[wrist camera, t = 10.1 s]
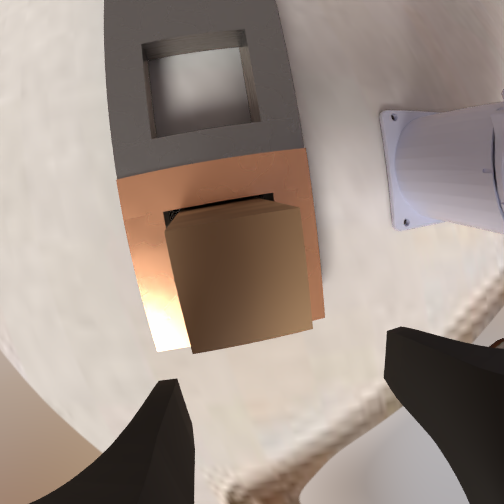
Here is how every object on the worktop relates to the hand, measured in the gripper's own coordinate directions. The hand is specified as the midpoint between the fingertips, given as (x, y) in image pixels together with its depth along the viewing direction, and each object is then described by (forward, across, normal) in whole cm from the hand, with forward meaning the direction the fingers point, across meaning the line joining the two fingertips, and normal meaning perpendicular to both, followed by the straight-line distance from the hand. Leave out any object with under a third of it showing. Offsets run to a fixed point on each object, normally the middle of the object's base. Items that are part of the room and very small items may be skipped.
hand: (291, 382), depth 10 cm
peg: (+10, +1, -3) cm, 10 cm away
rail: (+10, +1, -12) cm, 15 cm away
